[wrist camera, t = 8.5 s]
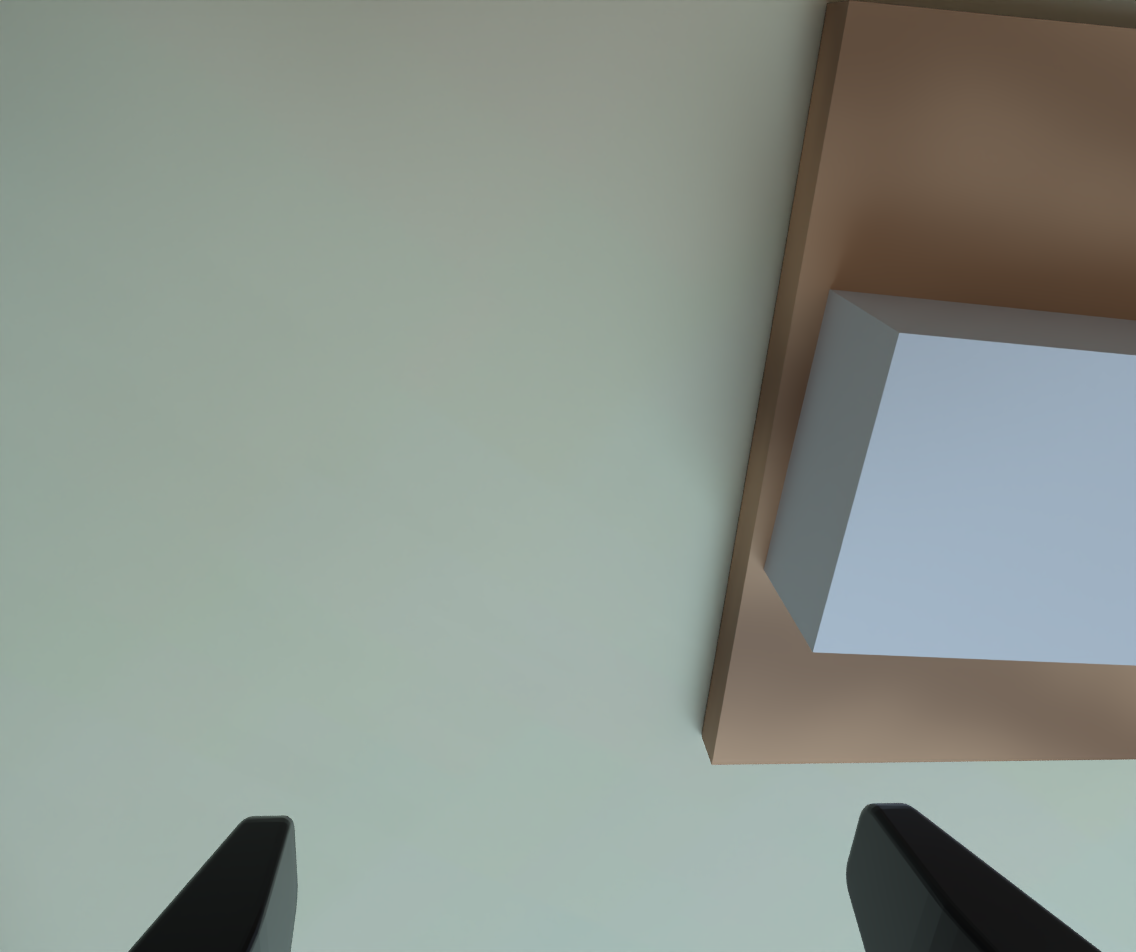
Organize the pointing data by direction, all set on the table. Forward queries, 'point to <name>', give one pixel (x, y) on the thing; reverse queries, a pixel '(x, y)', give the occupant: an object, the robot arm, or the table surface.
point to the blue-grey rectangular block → (963, 485)
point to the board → (946, 273)
